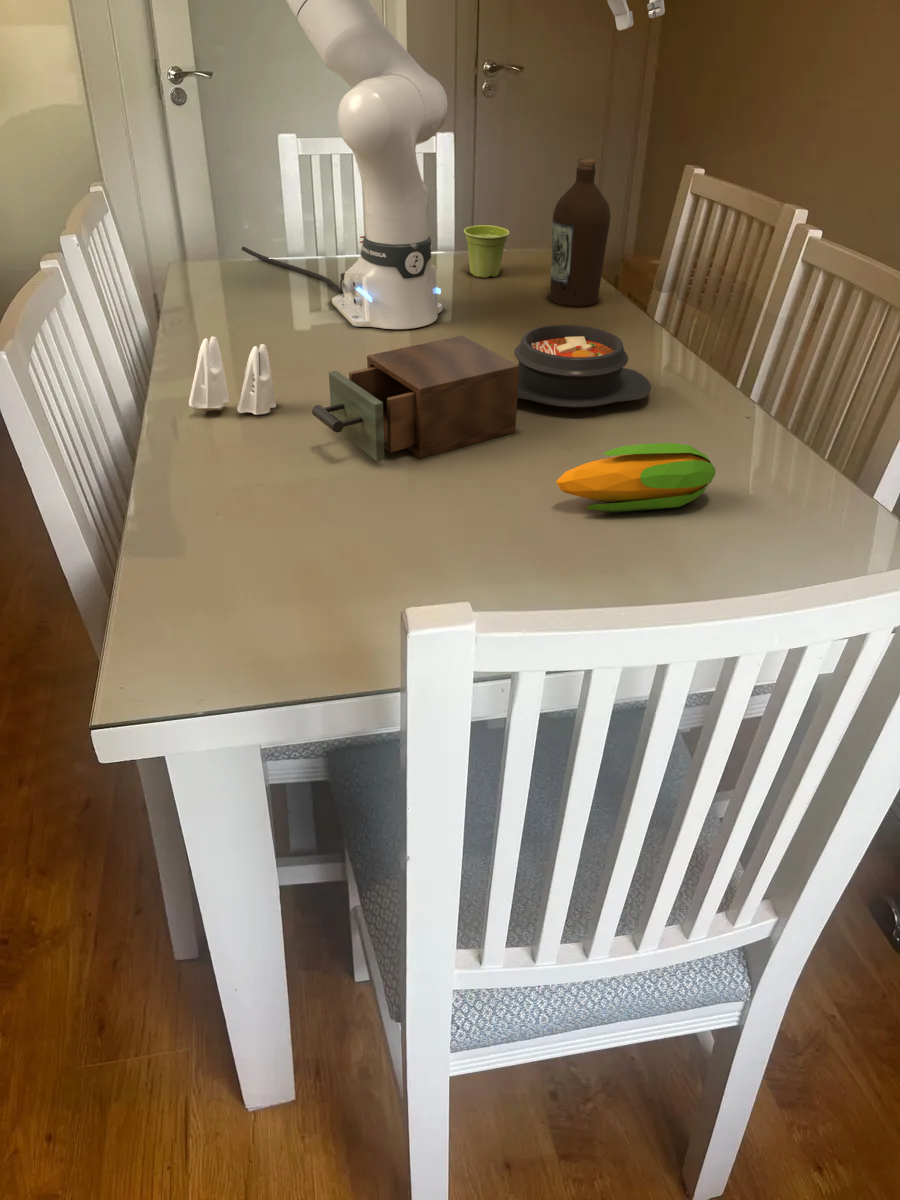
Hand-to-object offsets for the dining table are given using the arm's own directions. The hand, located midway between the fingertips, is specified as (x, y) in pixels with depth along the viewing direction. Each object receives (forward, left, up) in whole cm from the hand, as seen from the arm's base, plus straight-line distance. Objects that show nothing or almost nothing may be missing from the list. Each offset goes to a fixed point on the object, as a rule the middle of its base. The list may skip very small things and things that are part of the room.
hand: (641, 22), depth 123 cm
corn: (+38, -28, -48) cm, 67 cm away
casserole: (+7, -13, -48) cm, 50 cm away
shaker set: (-13, -59, -48) cm, 77 cm away
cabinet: (+7, -36, -48) cm, 60 cm away
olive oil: (-29, +18, -48) cm, 59 cm away
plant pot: (-52, +13, -48) cm, 72 cm away
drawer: (+7, -45, -47) cm, 65 cm away
